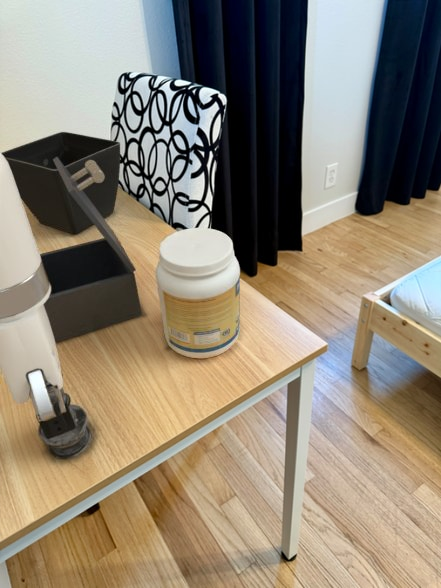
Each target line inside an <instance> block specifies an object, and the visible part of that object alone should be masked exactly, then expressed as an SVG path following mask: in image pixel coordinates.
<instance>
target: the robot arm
mask: <svg viewBox="0 0 441 588" xmlns="http://www.w3.org/2000/svg"><path fill="white" fill-rule="evenodd" d="M1 153H2V152H0V372H1V375H2V376H3V379H4V381H5V383H6V385H7V388H8V391H9V392H10V394H11V398H12V399H13V401H14V403H16V404H18V405H22V404H25V403H28V402H29V399H30V401H31V404H32V407H33V410H34V412H35V419H36V420H37V423H38V425H39V424H40V426H41V429H42V431H43V433H44V435H45V437H46V438H47V439H51V438H53V437H56V436H59V435H62V434H64V433H66V432H69V431H71V430H74V429H75V428H76V425H75V422H74V419H73V417H72V414H71V412H70V409H69V407H68V404H67V403H64V402H63V399H62V396H61V393H60V389H61V388H62V387H63V388H64V384H65V383H64V378H63V377H64V375H63V372H62V368H61V362H60V358H59V353H58V349H57V343H55V339H54V336H53V332H52V329H51V326H50V322H49V319H48V316H47V313H46V310H45V307H44V305H43V304H44V303H45V302H46V301H47V299H48V298H49V296H50V293H51V285H50V283H49V279H48V277H47V274H46V271H45V268H44V265H43V262H42V259H41V256H40V254H41V253H40V251H39V247H38V245H37V242H36V238H35V236H34V232H33V230H32V227H31V224H30V221H29V218H28V215H27V212H26V209H25V206H24V204H23V203H24V202H23V200H22V199H21V197H20V194H19V192H18V189H17V186H16V183H15V180H14V177H13V174H12V171H11V169H10V166H9V164H8V162H7V160H6V159H5V157H4V156H3V155H2V154H1ZM45 380H47V381H48V382H49V383H50V385H47V386H46V382H45ZM51 392H54V395H55V397H56V400H57V403H54V404H52V402H51V399H50V396H49V393H51Z"/></svg>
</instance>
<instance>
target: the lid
mask: <svg viewBox="0 0 441 588" xmlns="http://www.w3.org/2000/svg"><path fill="white" fill-rule="evenodd" d="M53 161H54V163H55V165H56V167H57V169H58V171H59V173H60V175H61V177H62V179H63V181H64V183H65V185H66V187H67V189H68V191H69V193H70V194H71V196H72V197H73V198H74V199H75V201H76V202H77V203H78V204H79V206H80V207H81V208H82V210H83V211H84V212H85V213H86V215H87V216H88V217H89V219H90V220H91V221H92V222H93V224H94V225H93V226H95V228H96V229H97V230H98V232H100V234H101V235H102V236H103V238H105V239H106V240H107V242H108V243H109V244H110V245H111V247H112V248H113V249H114V250H115V252H116V253H117V254H118V256H119V257H120V258H121V259H122V261H123V262H124V263H125V265H126V266H127V267H128V268H129V270H130V271H131V272H132V273H133V272H134V273H135V272H136V271H137V269H136V267H135V266H134V264H133V262H132V260H131V259H130V256H129V255H128V254H127V251H126V250H125V249H124V247H123V245H122V243H121V242H120V240H119V238H118V236H117V235H116V233H115V232H114V230H113V229H112V228H111V226H110V224H108V222H107V221H106V220H105V218H103V217H102V216H101V214H100V213H99V212H98V210H97V209H96V208H95V206H94V205H93V204H92V202H91V201H90V200H89V198H88V197H87V196H86V194H85V193H84V192H83V189H84V188H86V187H87V186H89V185H90V184H92V183H93V182H96V183H101V182H103V180H104V178H105V176H104V173H103V172H102V171H101V169H100V168H99V166H98V165H97V163H96V162H95V161H93V160H88V161H87V162H86V163H85V168H83V169H82V170H80V171H78V172H77V173H75V174H74V175H72V176H71V174H70V173H69V172H68V170H67V169H66V168H65V166H64V165H63V164H62V162H61V161H60V160H59V158H58V157H56V158H54V159H53ZM87 173H89V175H90V176H91V177H90V178H88V179H86V180H85V181H83V182H82V183H80V184H79V185H78V184H77V182H76V180H78V179H79V178H81V177H82V176H84V175H85V174H87Z"/></svg>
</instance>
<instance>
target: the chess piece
mask: <svg viewBox="0 0 441 588" xmlns="http://www.w3.org/2000/svg"><path fill="white" fill-rule="evenodd" d="M45 382H46V386H47V385H50V383H49V382H48V381H47V380H45ZM60 393H61V396H62V399H63V402H64V403H67V404H68V407H69V409H70V412H71V414H72V417H73V419H74V422H75V425H76V428H75V429H74V430H71V431H69V432H66V433H64V434H62V435H59V436H56V437H53V438H51V439H47V438H46V437H45V435H44V433H43V431H42V429H41V426H40V424H39V423H38V429H37V433H38V436H39V438H40V440H41V441H42V442H43V443H44V444H47V445H48V446H47V447H48V451H49V452H50V454H51V455H52V456H53V457H54V458H56V459H58V460H69V459H73V458H75V457H78V456H79V455H80V454H82V453H83V452H84V451H85V450H87V448H88V446H89V445H90V443H91V440H92V433H91V429H90V428H89V426H88V421H89V417H88V413H87V411H86V410H85V409H84V408H83V407H82V406H80V405H77V404H72V403H71V401H72V399H71V396H70V395H69V394H68V393H67V392H65V391H64V386H63V387H62V388H61V389H60ZM49 396H50V399H51V402H52V404H54V403H57V400H56V397H55V395H54V392H51V393H49Z"/></svg>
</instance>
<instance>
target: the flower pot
mask: <svg viewBox="0 0 441 588" xmlns="http://www.w3.org/2000/svg"><path fill="white" fill-rule="evenodd" d="M0 153H1V154H2V155H3V156H4V157H5V159H6V160H7V162H8V164H9V166H10V169H11V171H12V174H13V177H14V180H15V183H16V186H17V189H18V192H19V194H20V197H21V200H22V203H24V205H25V206H26V207H27V209H28V210H29V211H30V212H31V214H32V215H33V217H34V218H35V219H36V220H37V221H38V222H39V224H43V225H46V226H49V227H51V228H54V229H58V230H60V231H63V232H67V233H69V234H73V235H76V234H79V233H82V232H83V231H85V230H87V229H89V228H90V227H92V226H95V225H94V224H93V222H92V221H91V220H90V219H89V217H88V216H87V215H86V213H85V212H84V211H83V210H82V208H81V207H80V206H79V204H78V203H77V202H76V201H75V199H74V198H73V197H72V196H71V194H70V193H69V191H68V189H67V187H66V185H65V183H64V181H63V179H62V177H61V175H60V173H59V171H58V169H57V167H56V165H55V163H54V161H53V159H54V158H56V157H58V158H59V160H60V161H61V162H62V164H63V165H64V166H65V168H66V169H67V170H68V172H69V173H70V174H71V176H72V175H74V174H75V173H77V172H78V171H80V170H82V169H83V168H85V163H86V162H87V161H88V160H93V161H95V162H96V163H97V165H98V166H99V168H100V169H101V171H102V172H103V173H104V176H105V178H104V180H103V182H101V183H96V182H93V183H92V184H90V185H89V186H87V187H86V188H84V189H83V192H84V193H85V194H86V196H87V197H88V198H89V200H90V201H91V202H92V204H93V205H94V206H95V208H96V209H97V210H98V212H99V213H100V214H101V216H102V217H103V218H104V219H106V218H107V217H109V216H111V215H112V214H113V213H114V211H115V206H116V201H117V195H118V190H119V182H120V172H121V171H120V169H121V142H120V141H117V140H111V139H106V138H100V137H95V136H89V135H84V134H81V133H80V134H79V133H74V132H69V131H68V132H67V131H60V132H57V133H54V134H50V135H48V136H45V137H42V138H39V139H36V140H33V141H31V142H28V143H25V144H22V145H19V146H16V147H13V148H11V149H8V150H5V151H2V152H0ZM90 177H91V176H90V175H89V173H87V174H85V175H84V176H82V177H81V178H79V179H78V180H76V182H77V184H78V185H79V184H80V183H82V182H83V181H85V180H86V179H88V178H90Z"/></svg>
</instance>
